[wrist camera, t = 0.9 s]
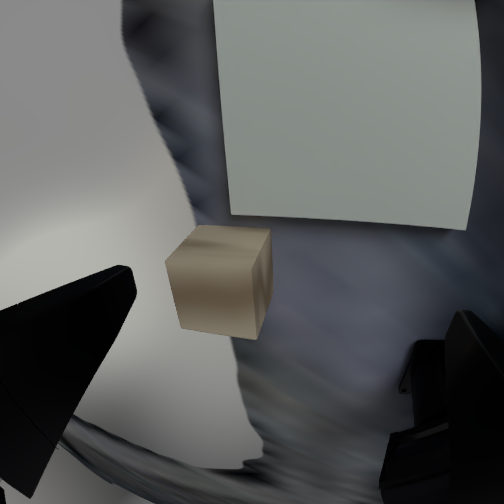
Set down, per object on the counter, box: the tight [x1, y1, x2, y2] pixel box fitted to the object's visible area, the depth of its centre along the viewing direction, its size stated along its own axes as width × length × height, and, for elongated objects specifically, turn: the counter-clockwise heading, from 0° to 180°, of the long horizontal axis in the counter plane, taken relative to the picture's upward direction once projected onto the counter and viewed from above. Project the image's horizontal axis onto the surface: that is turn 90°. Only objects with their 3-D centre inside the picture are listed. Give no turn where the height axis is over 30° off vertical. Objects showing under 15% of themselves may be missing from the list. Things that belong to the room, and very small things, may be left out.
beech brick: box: [165, 225, 273, 340], centre depth 20 cm, size 5×5×5 cm
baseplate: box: [213, 0, 481, 230], centre depth 14 cm, size 14×14×2 cm
